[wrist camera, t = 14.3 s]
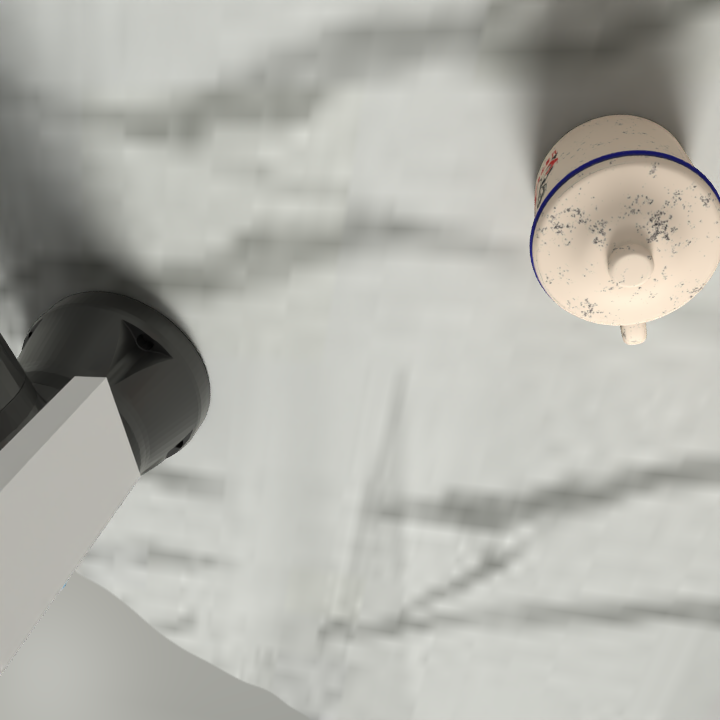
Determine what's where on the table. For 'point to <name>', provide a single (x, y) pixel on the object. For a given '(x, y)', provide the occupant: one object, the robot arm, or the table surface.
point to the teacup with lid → (623, 224)
